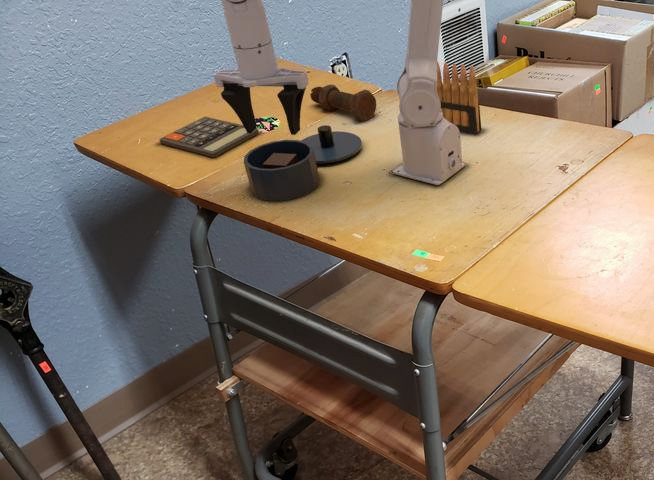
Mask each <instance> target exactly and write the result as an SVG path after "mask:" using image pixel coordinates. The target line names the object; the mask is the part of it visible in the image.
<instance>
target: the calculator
mask: <svg viewBox="0 0 654 480" xmlns="http://www.w3.org/2000/svg"><path fill="white" fill-rule="evenodd" d="M259 133H260V132H259V129H258V128H257V127H256V129H255V130H254V131H253V132H252V133H247V131H246V129H245V128H244V126H243V124H239V123H235V122H230V121H227V120H222V119H217V118H213V117H210V116H209V117H208V116H203V117H201V118H198V119H197V120H194V121H193V122H191V123H189V124H187V125H185V126H183V127H181V128H179V129H177V130H174V131H173V132H171V133H169V134H167V135H164V136H163V137H160V138H159V142H160V144H162V145H166V146H169V147H173V148H177V149H180V150H184V151H188V152H192V153H195V154H199V155H202V156H207V157H210V158H216V157H218V156H220V155H223V154H224V153H226V152H227V151H229V150H232V149H233V148H235V147H237V146H239V145H240V144H242V143H244V142H247V140H249V139H251V138H253V137H254V136H256V135H258V134H259Z"/></svg>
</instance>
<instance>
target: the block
mask: <svg viewBox="0 0 654 480" xmlns="http://www.w3.org/2000/svg"><path fill="white" fill-rule="evenodd" d="M296 163H298V158H297V154H284V153H273V154H272V155H271V156H270V157H269V158H268V159H267V160H266V161H265V162H264V163H263V168H264V169H275V168H282V167H287V166H290V165H293V164H296Z"/></svg>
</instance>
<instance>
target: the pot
mask: <svg viewBox="0 0 654 480" xmlns="http://www.w3.org/2000/svg"><path fill="white" fill-rule="evenodd" d="M273 153H284V154H297V158H298V163H296V164H293V165H290V166H287V167H282V168H275V169H264V168H263V163H264V162H265V161H266V160H267V159H268V158H269V157H270V156H271V155H272V154H273ZM243 166H244V169H245V173H246V177H247V180H248V183H249V187H250V190H251V192H252V194H253V195H254V196H255V197H256V198H258V199H261V200H263V201H268V202H282V201H283V202H284V201H290V200H294V199H297V198H301V197H303V196H305V195H307V194H310V193H311V192H313V191H314V190H315V189H316V188H317V187H318V185H319V183H320V174H319V169H318V164H316V159H315V154H314V149H313V146H311V145H310V144H309V143H307V142H304V141H301V140H299V139H280V140H274V141H269V142H266V143H263V144H260V145H258V146H256V147H254V148H252V149H250V150H249V151H248V152H247V153H246V154H245V155H244V156H243Z"/></svg>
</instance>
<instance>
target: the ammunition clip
mask: <svg viewBox="0 0 654 480" xmlns="http://www.w3.org/2000/svg"><path fill="white" fill-rule="evenodd" d="M450 74H451V76H450ZM459 76H460V77H459ZM478 92H479V91H478V88H477V77H476V72H475V68H474V66H473V65H470V66H469V72H468V75H467V69H466V67H465V64H463V63H462V64H461V66H460V71H459V72H458V68H457V65H456V64H455V62H453V63H452V66H451V73H450V68H449V65H448V63H447V62H446V61H444V63H443V67H442V70H441V66H440V63H439V62H438V60H437V94H438V97H439V99H440V103H441V108H440V109H441V110H442V113H443V117H444V118H445V119H446V120H447V121H448V122H450V123H452V124H455V125H456V126H457V127H458V129H459V132H460V133H463V134H465V133H466V134H470V135H477V134H479V133H480V132H481V131H482V121H481V118H482V117H481V107H480V103H479V95H478V94H479V93H478Z"/></svg>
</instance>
